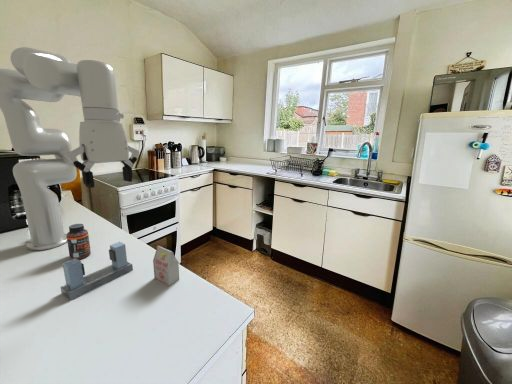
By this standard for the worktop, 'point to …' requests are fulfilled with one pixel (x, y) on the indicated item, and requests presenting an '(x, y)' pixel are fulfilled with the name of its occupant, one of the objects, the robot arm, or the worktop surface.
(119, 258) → the block
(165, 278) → the white drink carton
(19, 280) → the worktop surface
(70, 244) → the supplement bottle
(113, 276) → the rail
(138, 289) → the worktop surface
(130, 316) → the worktop surface
